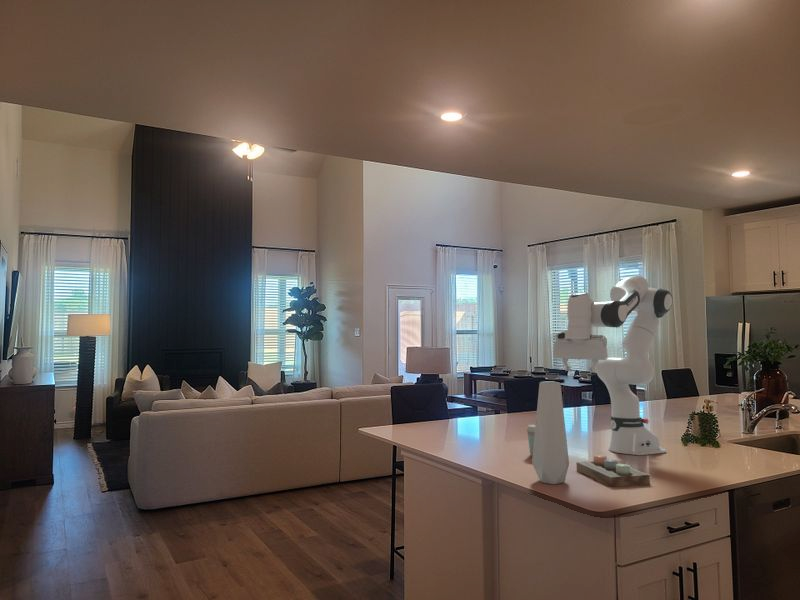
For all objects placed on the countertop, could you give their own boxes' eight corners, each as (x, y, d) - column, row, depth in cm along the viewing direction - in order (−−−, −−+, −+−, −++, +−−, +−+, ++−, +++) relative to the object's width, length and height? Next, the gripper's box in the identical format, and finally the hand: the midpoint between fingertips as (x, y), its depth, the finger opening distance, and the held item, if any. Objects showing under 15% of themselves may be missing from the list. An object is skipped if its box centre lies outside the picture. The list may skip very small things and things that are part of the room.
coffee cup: (549, 458, 219) (548, 427, 220) (527, 457, 221) (526, 427, 221) (548, 453, 227) (547, 424, 228) (526, 453, 229) (526, 423, 230)
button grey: (613, 467, 192) (613, 459, 193) (620, 470, 188) (620, 461, 188) (601, 468, 192) (601, 459, 192) (609, 471, 187) (608, 462, 187)
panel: (611, 468, 202) (611, 460, 202) (649, 484, 180) (649, 474, 180) (576, 470, 199) (576, 461, 199) (610, 486, 178) (610, 477, 178)
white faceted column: (578, 485, 180) (575, 383, 182) (545, 487, 177) (543, 384, 180) (560, 475, 192) (557, 380, 194) (529, 477, 189) (527, 381, 191)
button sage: (625, 472, 186) (624, 463, 186) (633, 475, 181) (632, 466, 181) (613, 473, 185) (613, 464, 185) (621, 476, 180) (620, 467, 181)
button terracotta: (602, 463, 199) (602, 454, 199) (609, 466, 195) (609, 457, 195) (591, 463, 198) (591, 455, 199) (597, 466, 194) (597, 458, 194)
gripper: (609, 335, 206) (610, 372, 205) (558, 335, 219) (558, 370, 218) (603, 334, 201) (604, 373, 200) (551, 334, 215) (551, 370, 214)
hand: (579, 371), depth 209 cm, fingers open, 8 cm apart
